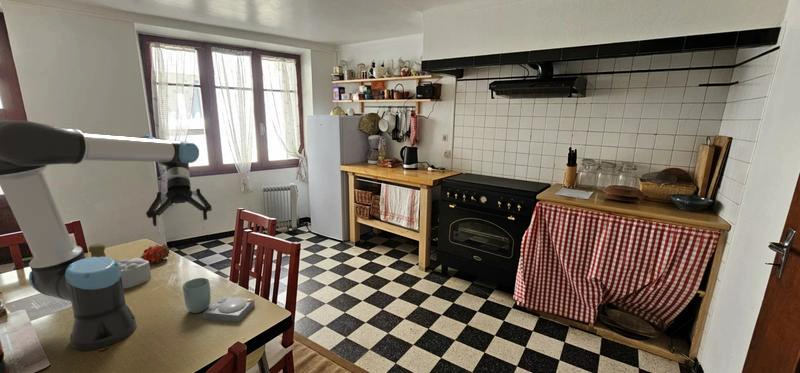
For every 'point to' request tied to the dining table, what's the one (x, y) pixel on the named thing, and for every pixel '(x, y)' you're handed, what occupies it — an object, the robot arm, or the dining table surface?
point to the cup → (197, 294)
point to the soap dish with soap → (229, 309)
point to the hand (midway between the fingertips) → (181, 230)
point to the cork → (97, 250)
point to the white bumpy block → (134, 271)
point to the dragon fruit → (155, 253)
